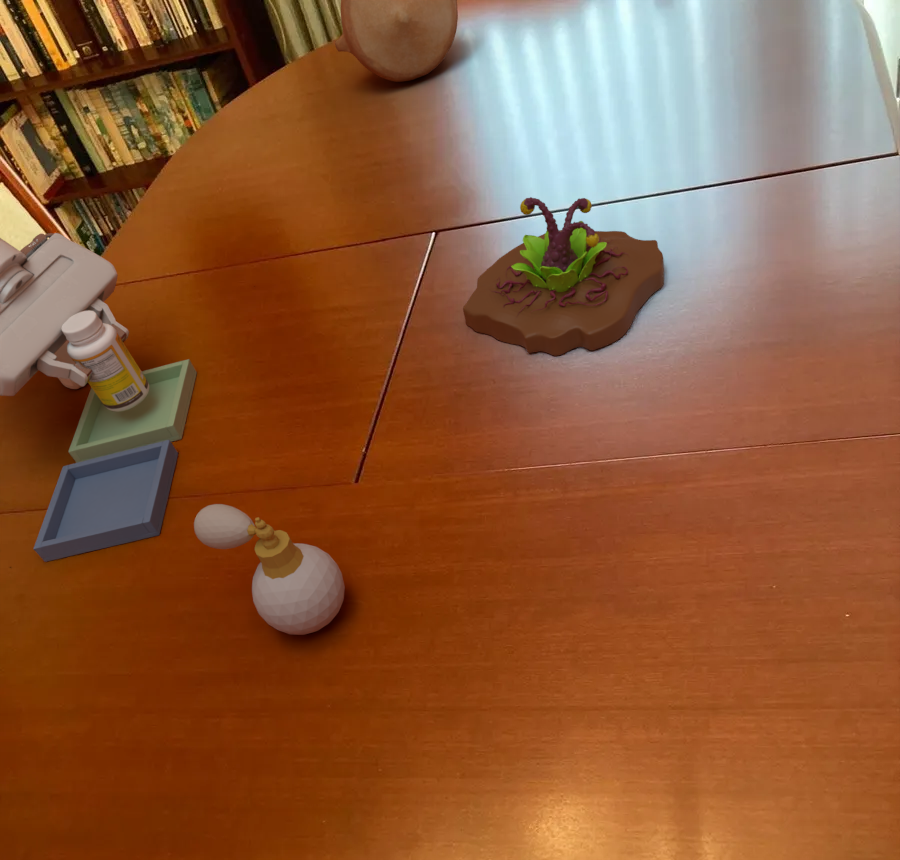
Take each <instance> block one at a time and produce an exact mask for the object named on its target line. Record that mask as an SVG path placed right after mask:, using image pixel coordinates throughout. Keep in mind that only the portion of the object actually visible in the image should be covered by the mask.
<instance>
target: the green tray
mask: <svg viewBox="0 0 900 860" xmlns="http://www.w3.org/2000/svg"><path fill="white" fill-rule="evenodd" d="M141 372H142V373H143V375H144V376H145V378H146V380H147V381H148V383H149V392H148V394H147V396H146V397H145V398H144V400H143V401H142V402H140V403H139V404H138V405H136V406H134V407H133V408H130V409H128V410H125V411H119V412H115V411H111V410H109V409H107V408H106V407H105V406H104V405H103V403H102V402H101V400H100V399H99V397H98V396H97V395H96V393H95V392H94V390H93V389H92V387H91V386H90V391H89V393H88V395H87V398H86V402H85V404H84V407H83V410H82V413H81V415H80V418H79V421H78V423H77V426H76V429H75V432H74V434H73V438H72V440H71V443H70V445H69V448H68V453H69V455H70V457H71V458H72V459H73V460H74V462H75V463H78V462H82V461H86V460H90V459H94V458H98V457H102V456H106V455H110V454H114V453H118V452H122V451H126V450H130V449H134V448H138V447H142V446H146V445H150V444H154V443H158V442H162V441H166V440H170V441H171V443H172V442H175V441H179V440H182V438H183V435H184V431H185V426H186V421H187V416H188V414H189V413H188V412H189V409H190V404H191V400H192V396H193V391H194V387H195V382H196V378H197V374H198V372H197V370H196V368H195V367H194V364H193V363H192V361H191V360H190V358H188V359H184V360H179V361H175V362H172V363H168V364H165V365H161V366H156V367H153V368H150V369H145V370H143V371H142V370H141Z"/></svg>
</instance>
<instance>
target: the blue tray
mask: <svg viewBox="0 0 900 860" xmlns="http://www.w3.org/2000/svg"><path fill="white" fill-rule="evenodd" d="M178 456H179V452H178V451H177V449H176V448H175V446H174V445H173V443H172V442H171V441H170V440H166V441H162V442H158V443H154V444H150V445H146V446H142V447H138V448H134V449H130V450H126V451H122V452H118V453H114V454H110V455H106V456H102V457H98V458H94V459H90V460H86V461H82V462H78V463H76V462H74V463H70V464H66V465H63V466H62V468H61V471H60V474H59V477H58V479H57V482H56V485H55V488H54V491H53V493H52V495H51V498H50V502H49V504H48V507H47V509H46V512H45V515H44V518H43V522H42V523H41V526H40V529H39V532H38V535H37V538H36V540H35V543H34V546H33V550H34V551H35V553H36V554H37V555H38V556H39V557H40V558H41V559H42V561H43V562H44V563H47V562H51V561H55V560H59V559H64V558H68V557H72V556H76V555H80V554H85V553H90V552H94V551H97V550H102V549H107V548H110V547H115V546H118V545H124V544H128V543H132V542H137V541H140V540H145V539H149V538H153V537H158V536H160V535H161V530H162V525H163V521H164V517H165V513H166V509H167V504H168V500H169V495H170V490H171V486H172V482H173V477H174V474H175V469H176V465H177V461H178Z"/></svg>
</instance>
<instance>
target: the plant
mask: <svg viewBox="0 0 900 860" xmlns="http://www.w3.org/2000/svg"><path fill="white" fill-rule="evenodd" d="M536 207H538V209H539V211H541V214H542V216H543V217H544V222H545V224H546V231H545V233H543V234H540V235H538V236H537V235H532V234H525V235H523V237H522V243H520V244H519V245H517V246H515V247H514V248H512V249H511V250H509V251H508V252H506V253H505V254H504V255H501V257H499V258H498V259H496V261H495V262H494V263H492V265H490V266H489V267H488V268H487V269H486V270H484V272H482V273H481V275H479V276H478V278H477V279H476V280H477V281H476V288H475V290H474V291H473V292H472V294H470V295H471V296H470V297H469V298H468V300H467V302H466V303H465V304H464V306H463V307H462V311H463V316H464V321H465V324H466V326H467V327H470V328H471V329H472V330H473V331H474V332H476V333H480V334H484V335H485V334H486V335H489V336H491V337H493V338H494V339H496V340H498V341H501V342H503V343H507V344H511V345H515V346H516V345H517V346H521V347H522V348H524V349H525V350H526V352H527V353H528V354H532V353H537V352H543V353H547V354H549V355H551V356H555V357H556V356H558V357H559V356H561V355H564V354H566V353H568V352H570V351H571V350H573V349H576V348H581V347H582V348H585V349H586V350H588V351H595V350H598V349H601V348H604V347H606V346H608V345H611V344H613V343H615V342H617V341H618V340H620V339H621V338H622V337H623V336H625V335H626V334H627V332H628V331H629V329H630V327H631V325H632V324H633V321H634V320H635V317H636V315H637V313H638V312H639V311H640V309H641V308H642V307H643V306H644V304H645V303H646V302H647V301H648V300H649V298H650V297H651V296H653V294H654V293H656V292H657V291H658V290H660V289H662V287H663V286H664V283H665V278H664V274H665V263H664V254H663V252H662V250H660V248H659V245H658V243H659V242H658V240H656V239H646V240H645V239H638V238H635V237H633V236H631V235H629V234H628V233H627V232H625V231H621V230H607V231H606V230H603V231H602V230H594V228H591V226H590V225H589V224H588V223H585V222H584V221H583V220H579V221H577V222H575V221H574V222H572V221H573V217H574V214H575V211H576V210H577V208H578V209H579V210H580V212H581V213H582V214H587V213H590V212H591V210H592V202H591V200H590V199H588V198H585V197H582V198H577V200H575V201H574V202H573V203H572V204H571V206H569V207H568V211H567V212H566V214H565V215H566V217H565V218H564V222H563V227H562V229H560V230H559V227H558V226H559V225H558V224H557V220H556V219H555V218H554V214H553V212H551V211H550V210H549V207H548V206H546V202H543V201H542V200H540V198H536V197H531V196H530V197H526V198H525V199H523V200H522V201H521V202H520V205H519V209H520V212H521V213H522V214H523V215H525V216H529V215H531V214H532V213H533V212H534V211H535V208H536Z"/></svg>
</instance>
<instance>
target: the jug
mask: <svg viewBox="0 0 900 860" xmlns="http://www.w3.org/2000/svg"><path fill="white" fill-rule="evenodd" d="M458 20H459V12H458V0H340V21H341V27H342V34H341V35H340V37H338V39H336V40H334V41H335V42H334V46H335V49H336V50H337V51H338V52H339V53H340V52H341V53H342V52H346V53H349V54H351V55H353V57H354V58H355V59H356V60H357V61H358V62H359V63H360V64H361V65H362V66H363V67H364V68H366V69H367V70H368V71H369V72H370V73H372V74H374V75H376V76H378V77H379V78H381V79H385V80H387V81H391V82H394V83H395V82H396V83H398V82H399V83H400V82H408V81H414V80H416V79H418V78H421V77H424V76H426V75H429V74H430V73H431V72H432V71H433V70H435V69H436V68H437V67H438V66H439V65H440V64H442V62H443V61H444V59H445V58H446V56H447V54H448V52H449V50H450V49H451V47H452V45H453V42H454V40H455V37H456V34H457V28H458Z"/></svg>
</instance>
